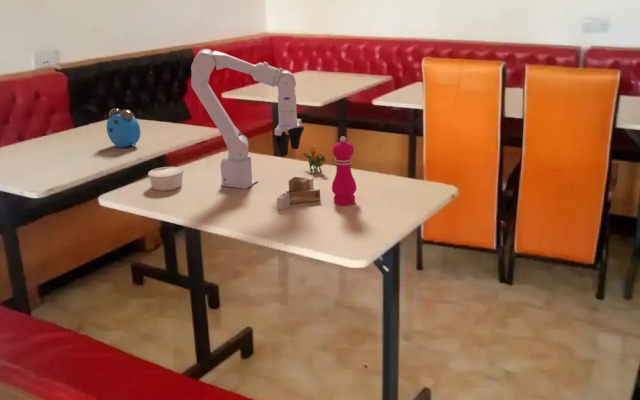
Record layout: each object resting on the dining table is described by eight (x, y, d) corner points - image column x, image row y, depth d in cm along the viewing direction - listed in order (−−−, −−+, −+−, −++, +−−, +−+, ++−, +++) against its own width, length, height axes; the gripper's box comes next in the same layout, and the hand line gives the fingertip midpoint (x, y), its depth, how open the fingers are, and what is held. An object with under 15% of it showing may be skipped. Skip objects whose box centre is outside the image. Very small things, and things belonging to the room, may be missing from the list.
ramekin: (172, 179, 226) (170, 164, 225) (191, 186, 219) (190, 170, 217) (143, 187, 219) (141, 172, 217) (161, 194, 212) (159, 179, 210)
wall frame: (277, 209, 196) (276, 196, 194) (307, 187, 213) (307, 176, 211) (283, 209, 195) (282, 197, 194) (313, 188, 212) (313, 176, 211)
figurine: (322, 175, 224) (321, 151, 222) (299, 167, 233) (297, 145, 230) (329, 172, 226) (328, 149, 223) (305, 165, 235) (304, 143, 232)
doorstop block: (289, 199, 203) (288, 180, 201) (295, 195, 207) (294, 176, 205) (304, 201, 201) (303, 182, 199) (310, 197, 205) (309, 178, 202)
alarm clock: (142, 146, 267) (138, 109, 262) (131, 150, 262) (125, 112, 257) (120, 142, 274) (115, 106, 268) (108, 146, 269) (102, 109, 264)
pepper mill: (349, 207, 195) (347, 140, 188) (327, 203, 198) (325, 138, 191) (361, 200, 200) (360, 134, 194) (340, 196, 204) (338, 132, 197)
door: (290, 202, 200) (290, 192, 199) (319, 199, 202) (319, 188, 201) (292, 204, 199) (291, 194, 197) (321, 200, 200) (320, 190, 199)
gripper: (288, 116, 203) (290, 159, 208) (309, 106, 216) (310, 147, 220) (267, 114, 206) (270, 157, 211) (289, 104, 219) (291, 145, 223)
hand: (289, 151), depth 216 cm, fingers open, 7 cm apart
